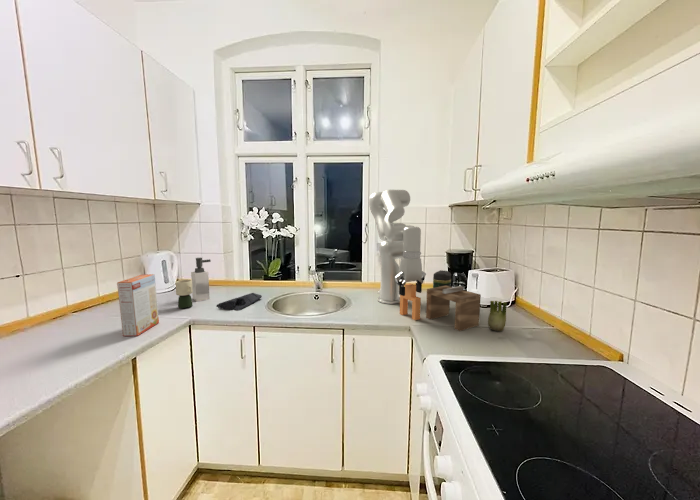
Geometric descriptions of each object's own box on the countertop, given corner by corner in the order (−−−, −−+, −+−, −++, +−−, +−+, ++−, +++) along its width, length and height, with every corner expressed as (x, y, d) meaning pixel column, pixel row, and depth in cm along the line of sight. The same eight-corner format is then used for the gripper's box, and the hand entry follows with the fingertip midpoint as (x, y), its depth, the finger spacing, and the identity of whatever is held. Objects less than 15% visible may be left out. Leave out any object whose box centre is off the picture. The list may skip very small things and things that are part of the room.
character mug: (199, 307, 152) (197, 280, 151) (185, 311, 146) (183, 283, 145) (185, 303, 158) (183, 278, 156) (171, 307, 152) (169, 281, 150)
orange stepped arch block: (399, 313, 143) (400, 282, 141) (404, 312, 145) (405, 282, 143) (415, 320, 135) (416, 287, 133) (420, 319, 136) (421, 286, 135)
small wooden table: (425, 317, 138) (427, 285, 136) (444, 313, 145) (446, 282, 143) (459, 331, 123) (461, 294, 121) (478, 325, 129) (480, 290, 128)
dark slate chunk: (267, 300, 167) (266, 291, 166) (237, 312, 146) (237, 302, 146) (244, 297, 172) (243, 288, 172) (212, 308, 152) (212, 298, 152)
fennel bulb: (506, 331, 123) (508, 301, 122) (500, 334, 120) (502, 303, 119) (491, 326, 128) (493, 298, 126) (485, 329, 125) (487, 300, 123)
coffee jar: (447, 313, 144) (449, 273, 142) (430, 310, 148) (431, 272, 145) (451, 307, 153) (452, 270, 150) (434, 305, 156) (436, 268, 154)
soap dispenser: (214, 298, 167) (212, 257, 165) (196, 301, 162) (194, 259, 159) (209, 296, 172) (207, 256, 169) (192, 299, 166) (190, 257, 163)
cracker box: (145, 323, 131) (141, 273, 128) (159, 323, 131) (156, 273, 128) (121, 336, 117) (116, 281, 114) (137, 336, 117) (132, 281, 114)
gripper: (419, 252, 144) (418, 289, 146) (390, 255, 135) (389, 294, 137) (432, 254, 138) (430, 292, 140) (401, 257, 129) (401, 298, 131)
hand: (410, 293), depth 138 cm, fingers open, 9 cm apart
